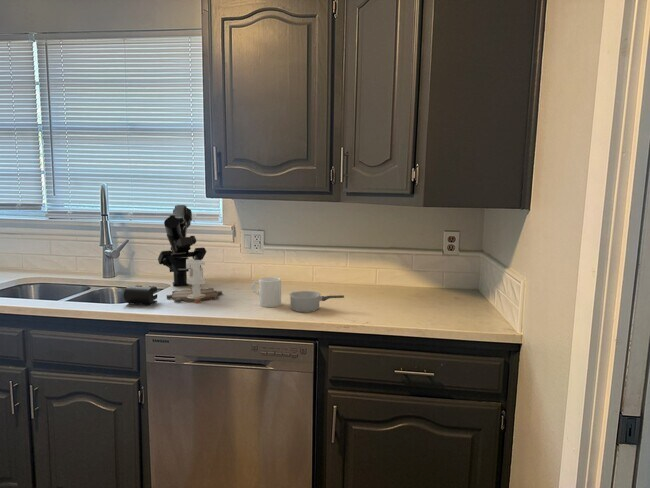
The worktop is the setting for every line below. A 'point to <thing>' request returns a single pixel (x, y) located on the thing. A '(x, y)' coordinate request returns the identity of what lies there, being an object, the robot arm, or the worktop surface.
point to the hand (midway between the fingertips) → (189, 272)
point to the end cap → (140, 295)
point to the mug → (269, 291)
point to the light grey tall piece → (195, 275)
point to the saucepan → (307, 300)
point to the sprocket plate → (187, 297)
